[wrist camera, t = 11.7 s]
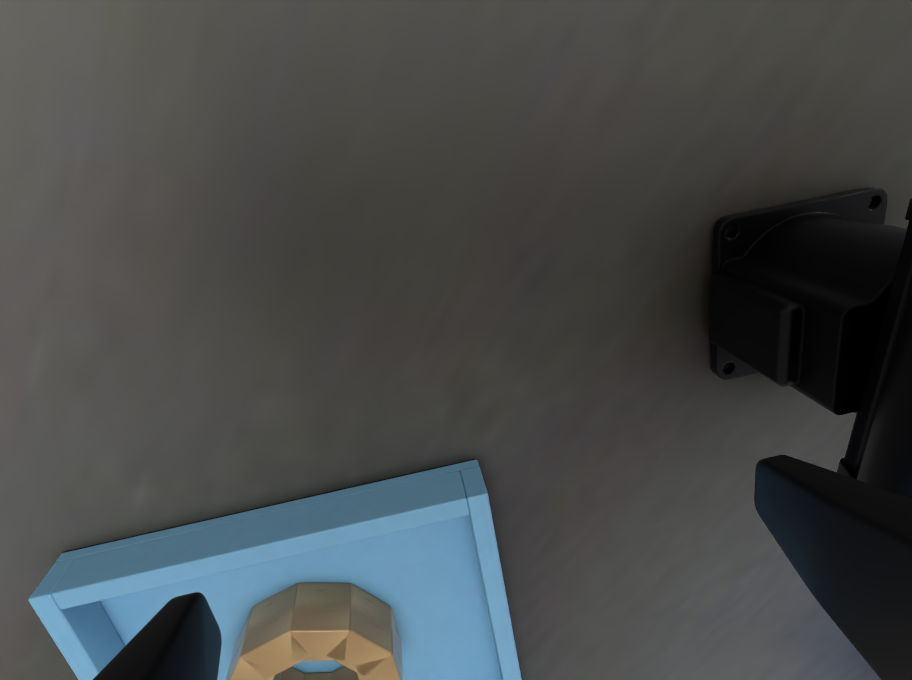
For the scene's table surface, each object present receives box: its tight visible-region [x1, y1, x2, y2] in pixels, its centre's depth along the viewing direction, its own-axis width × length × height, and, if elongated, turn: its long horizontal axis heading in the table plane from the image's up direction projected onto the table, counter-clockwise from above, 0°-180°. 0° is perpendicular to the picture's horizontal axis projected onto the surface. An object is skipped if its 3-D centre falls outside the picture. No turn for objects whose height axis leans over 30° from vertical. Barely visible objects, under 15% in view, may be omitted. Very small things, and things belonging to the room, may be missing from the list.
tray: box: [28, 460, 522, 680], centre depth 24 cm, size 17×15×2 cm
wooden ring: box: [226, 583, 403, 680], centre depth 23 cm, size 7×7×2 cm
